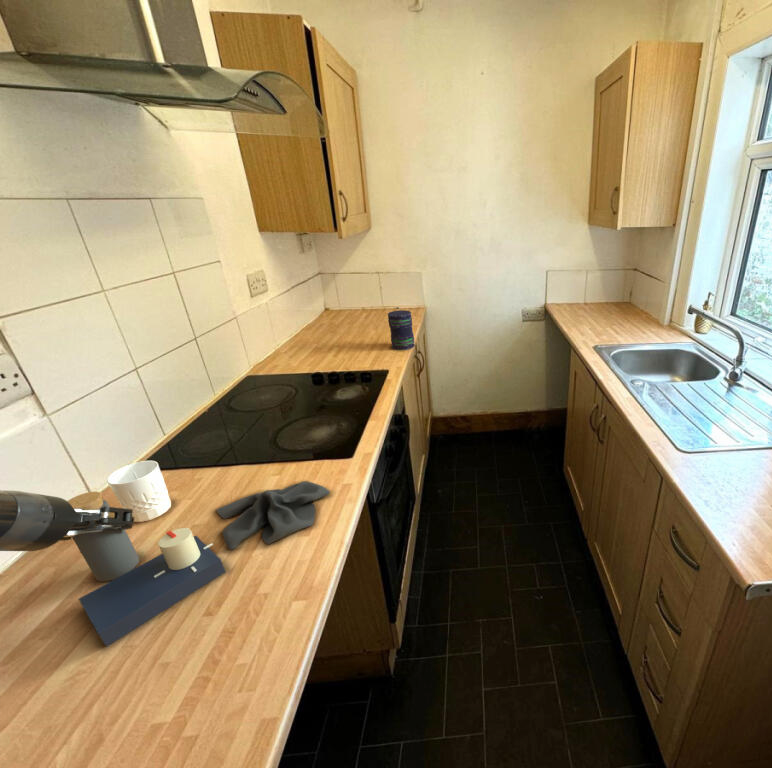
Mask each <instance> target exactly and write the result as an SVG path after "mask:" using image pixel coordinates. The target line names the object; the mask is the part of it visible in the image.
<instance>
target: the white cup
mask: <svg viewBox="0 0 772 768" xmlns="http://www.w3.org/2000/svg"><path fill="white" fill-rule="evenodd" d="M106 482H107V484H108V485H109V487H110V489H111V491H112V492H113V494H114V496H115V497H116V499H117V501H118V502H119V504H120V505H121V508H123V509H132V510H133V513H132V516H133V517H134V523H144V522H148V521H151V520H154V519H156V518H158V517H160V516H163V514H165V513H166V512H168V510H169V509H170V508H171V507H172V500H171V498H170V495H169V491H168V488H167V485H166V481H165V479H164V475H163V473H162V470H161V467H160V465H159V462H157V461H155V460H141V461H136V462H132V463H130V464H129V463H128V464H127V465H124V466H122V467H119V468H118V469H116V470H115V471H113V472H112V473H110V475H108V477H107V479H106Z"/></svg>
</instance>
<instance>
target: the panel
mask: <svg viewBox="0 0 772 768" xmlns="http://www.w3.org/2000/svg"><path fill="white" fill-rule="evenodd" d="M193 537H194V539H195V541H196V544H197V546H198V548H199V551H200V557H199V558H198V560H197V561H196V562H194V563H193V564H192V565H190V566H188V567H186V568H183V569H180V570H172V569H170V568H169V566H168V564H167V562H166V560H165V558H164V556H163V553H162V552H161V553H160V554H159V555H157V556H155V557H153V558H151V559H149V560H148V561H146V562H144V563H142V564H141V565H137V566H136V567H135V568H134V569H133V570H131V571H129V572H127V573H126V574H124V575H122V576H120V577H118V578H116V579H114V580H111V581H108V582H107V583H105V584H103V585H102V586H100V587H97V588H96V589H94V590H92V591H91V592H88V593H86V594H84V595H82V596H81V597H80V598H78V601H79V602H80V604H81V606H82V608H83V610H84V611H85V613H86V615H87V617H88V619H89V621H90V622H91V624H92V626H93V627H94V629H95V631H96V632H97V634H98V636H99V637H100V640H101V641H102V643H103V644H104V646H105V647H109V646H110V645H112V644H113V643H115V642H117V641H119V640H120V639H121V638H123V637H125V636H126V635H128V634H129V633H131V632H133V631H134V630H136V629H138V628H139V627H141V626H143V625H144V624H146V623H147V622H148V621H150V620H152V619H154V618H155V617H157V616H158V615H159V614H161V613H163V612H165V611H166V610H168V609H169V608H171V607H172V606H174V605H176V604H177V603H179V602H181V601H182V600H184V599H185V598H186V597H188V596H190V595H192V594H193V593H195V592H197V591H198V590H199V589H201V588H203V587H204V586H206V585H207V584H209V583H210V582H212V581H214V580H215V579H217V578H219V577H220V576H221V575H224V574H225V573H226V569H225V567H224V564H223V562H222V560H221V558H220V557H218V555H217V554H216V553H215V552H214V551H213V550H212V549H211V548H210V547H211V546H213V545H214V543H213V542H212V543H210V544H207V545H206V544H205V543H204V542H203V541H202V540H201V539H200V538H199V537H198V536H197V535H193Z"/></svg>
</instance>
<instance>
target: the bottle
mask: <svg viewBox="0 0 772 768" xmlns="http://www.w3.org/2000/svg"><path fill="white" fill-rule="evenodd" d="M67 501H68V502H69V503H70V504H71V506H72V507H73V508H74V509H82V510H100V508H102V507H105V506H108V507H110V504H109V503H108V501H107V500H106V499H103V494H102V492H100V491H89V492H84V493H81V494H79V495H75V496H74V497H71V498H69V499H68V500H67ZM94 522H95V521H92V522H91V523H90V525H89V527H88V528H87V529H93V528H94ZM71 539H72V540H73V542H74V544H75V546H76V547H77V548H78V550H79V552H80V553H81V556H82V558H83V559H84V560H85V562H86V564H87V566H88V567H89V569H90V571H91V573H92V574H93V576H94V578H95V580H97V581H98V582H101V583H102V582H103V583H104V582H111V581H113V580H114V579H116V578H118V577H120V576H122V575H124V574H126V573H127V572H129V571H131V570H133V569H135V568H137V566H138V564H139V562H140V557H139V555H138V553H137V551H136V549H135V547H134V544H133V543H132V541H131V538H130V537H129V534H128V532H127V531H126V530H124V529H103V530H102V531H100V532H98V533H90V534H78V535H75V536H72V538H71Z"/></svg>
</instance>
